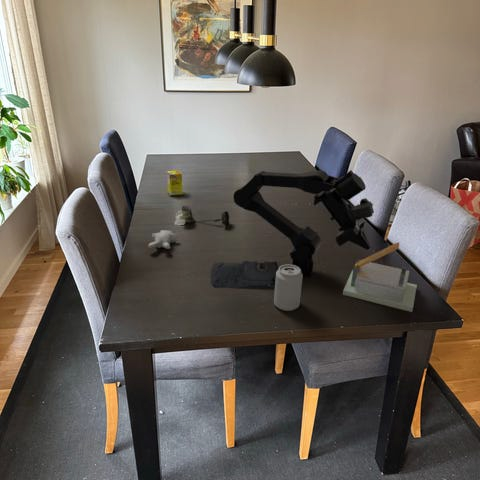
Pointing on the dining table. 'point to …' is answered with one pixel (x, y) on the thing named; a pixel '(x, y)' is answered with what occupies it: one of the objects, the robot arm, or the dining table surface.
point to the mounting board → (404, 305)
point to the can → (288, 287)
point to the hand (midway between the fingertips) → (369, 248)
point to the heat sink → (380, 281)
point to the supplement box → (174, 183)
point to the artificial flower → (187, 215)
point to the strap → (377, 255)
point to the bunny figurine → (163, 239)
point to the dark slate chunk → (244, 275)
